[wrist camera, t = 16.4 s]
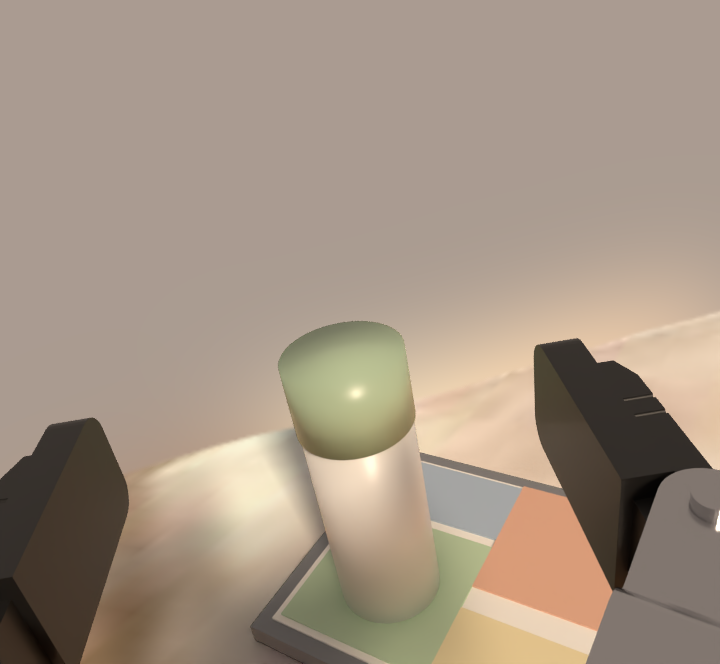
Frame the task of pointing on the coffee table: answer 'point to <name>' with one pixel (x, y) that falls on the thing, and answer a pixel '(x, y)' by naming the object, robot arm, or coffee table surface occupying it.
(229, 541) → the coffee table surface
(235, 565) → the coffee table surface
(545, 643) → the picture board
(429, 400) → the coffee table surface
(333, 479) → the marker
